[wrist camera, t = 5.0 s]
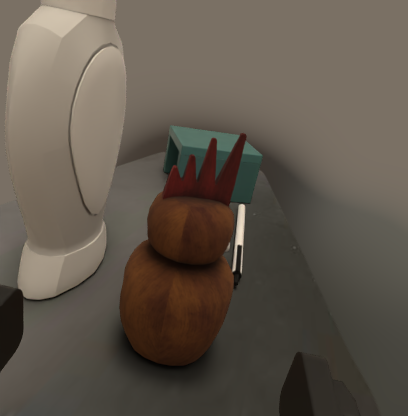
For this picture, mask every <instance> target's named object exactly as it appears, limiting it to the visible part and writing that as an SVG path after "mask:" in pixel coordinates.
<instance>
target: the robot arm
mask: <svg viewBox="0 0 408 416" xmlns="http://www.w3.org/2000/svg"><path fill="white" fill-rule="evenodd" d="M22 335H23V292H22V290H21V289H18V288H13V287H9V286H4V285H0V372H1V370H2V369H3V368H4V366H5V365H6V364H7V362H8V361H9V360H10V358H11V357H12V356H13V354H14V353H15V352H16V350H17V348H18V346H19V344H20V342H21V339H22ZM279 413H280V416H360V413H359V410H358V407H357V403H356V400H355V399H354V397H353V396H352V394H351V393H350V392H349V390H348V389H347V387H346V386H345V384H344V383H343V382H342V381H338V380H333V379H332V376H331V372H330V369H329V365H328V362H327V360H326V358H324V357H320V356H316V355H311V354H307V353H302V352H298V353H297V354H296V355H295V357H294V360H293V362H292V365H291V367H290V370H289V372H288V375H287V377H286V380H285V382H284V385H283V387H282V391H281V395H280V403H279Z"/></svg>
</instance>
